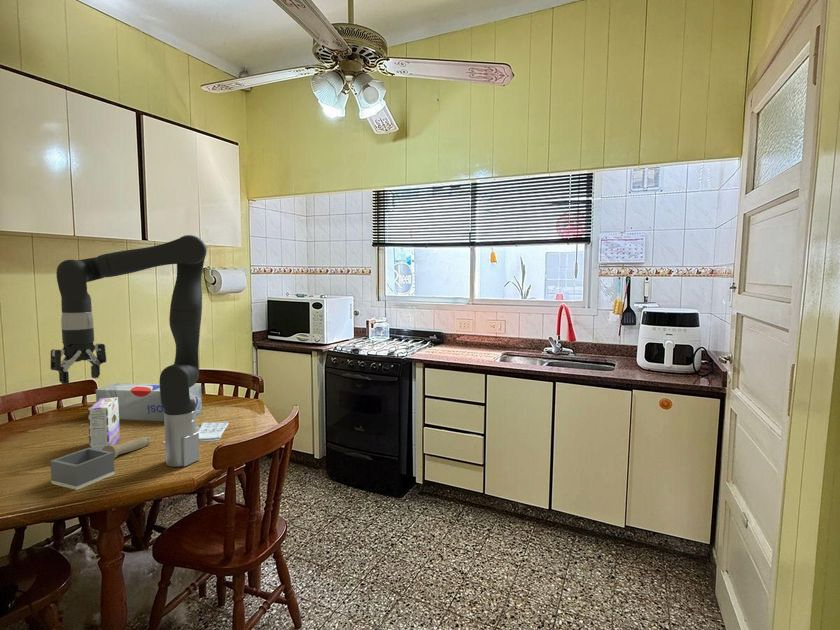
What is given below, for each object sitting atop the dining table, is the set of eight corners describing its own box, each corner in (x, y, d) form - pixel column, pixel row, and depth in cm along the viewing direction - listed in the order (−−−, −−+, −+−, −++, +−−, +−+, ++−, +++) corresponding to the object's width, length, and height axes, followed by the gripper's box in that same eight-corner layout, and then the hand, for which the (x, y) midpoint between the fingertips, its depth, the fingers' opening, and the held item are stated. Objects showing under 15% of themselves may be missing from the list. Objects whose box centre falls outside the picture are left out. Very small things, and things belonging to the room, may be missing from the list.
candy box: (102, 440, 163) (100, 397, 162) (120, 439, 165) (118, 396, 164) (89, 455, 150) (86, 408, 149) (109, 452, 153) (107, 406, 151)
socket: (114, 474, 136) (113, 452, 136) (76, 490, 126) (75, 466, 125) (90, 468, 140) (89, 447, 139) (51, 483, 130) (50, 460, 129)
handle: (156, 445, 159) (116, 458, 145) (143, 448, 161) (102, 461, 147) (153, 432, 159) (113, 443, 145) (140, 435, 161) (99, 447, 147)
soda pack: (203, 414, 197) (202, 384, 196) (186, 423, 184) (185, 391, 183) (118, 410, 200) (116, 381, 199) (95, 419, 187) (93, 388, 186)
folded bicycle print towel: (219, 442, 165) (219, 436, 165) (160, 446, 161) (160, 440, 161) (229, 425, 184) (229, 420, 183) (177, 428, 179) (177, 423, 179)
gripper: (60, 330, 122) (63, 387, 123) (110, 325, 135) (113, 376, 137) (42, 329, 124) (45, 385, 126) (93, 324, 138) (96, 375, 139)
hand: (80, 380), depth 131 cm, fingers open, 8 cm apart
